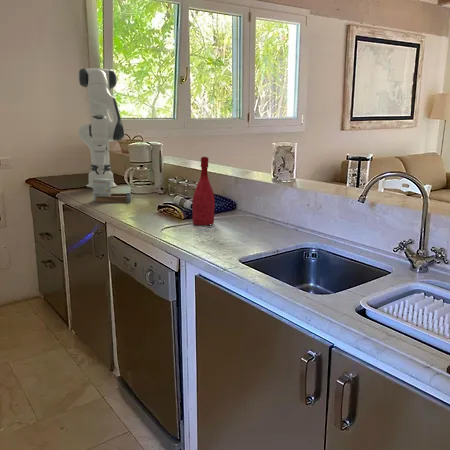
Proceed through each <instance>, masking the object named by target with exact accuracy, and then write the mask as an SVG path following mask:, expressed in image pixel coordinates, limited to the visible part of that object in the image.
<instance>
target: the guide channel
mask: <svg viewBox="0 0 450 450" xmlns="http://www.w3.org/2000/svg"><path fill="white" fill-rule="evenodd" d="M131 200H132V191H131V189H127V190H126V192H123V193H122V192H121V193H120V192H118V193H117V192H111V196H96V201H95V203H131Z"/></svg>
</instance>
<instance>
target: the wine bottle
mask: <svg viewBox="0 0 450 450" xmlns="http://www.w3.org/2000/svg"><path fill="white" fill-rule="evenodd" d="M208 168H209V157H207V156H202V157H201V158H200V169H201V171H200V178H199V181H198V183H197V186H196V188H195V190H194V193H193V196H192V223H193V225H195V224H196V225H195V226H198V225H210V224H212V225H214V223H215V212H216V210H215V208H216V203H215V202H216V200H215V198H216V197H215V194H214V190H213V187H212V185H211V183H210V180H209V175H208ZM210 226H211V225H210Z"/></svg>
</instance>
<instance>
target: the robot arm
mask: <svg viewBox="0 0 450 450" xmlns="http://www.w3.org/2000/svg"><path fill="white" fill-rule="evenodd" d="M77 81H78V83H79V85H80V86H81V87H83V88H87V93H88V106H89V107H88V108H89V111H88V112H89V114H90V115H91V116H92V117H91V123H86V124H81V125H80V126H79V128H78V131H77V134H78V137H79V138H80V140H81V141H82V142H84V144H85V145H86V146H87V147H88V149H89V152H90V161H91V164H90V170H91V171H90V172H89V173H88V184H86V185H85V187H86V186H87V187H86V188H90V189H93V179H110V182H111V188H116V187H118V185H117V184H116V183H115V182H114V181H115V179H114V173H113V172H112V167H111V166H112V165H111V163H110V161H111V160H110V159H111V158H110V142H114V141H115V142H116V141H121V140H122V139H123V138H124V137H125V135H126V134H125V126H124V125H123V122H122V118H121V113H120V111H119V106H118V103H117V100H116V98H115V96H114V95H112V94H111V93H110V90H111V89H114V88H115V87H116V86H117V84H118V76H117V72H116V71H115V70H114V69H110V68H109V69H107V68H104V67H103V68H101V67H97V68H95V67H94V68H93V67H92V68H86V67H85V68H84V67H83V68H81V69H79V70H78V73H77ZM109 112H110V113H111V116H112V118H111V116H110V113H109Z"/></svg>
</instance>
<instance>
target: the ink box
mask: <svg viewBox="0 0 450 450" xmlns="http://www.w3.org/2000/svg"><path fill="white" fill-rule="evenodd" d="M111 193H112V187H111V182H110V179H93V188H92V195H93V196H92V198H93V201H94V202H96V196H111Z"/></svg>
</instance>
